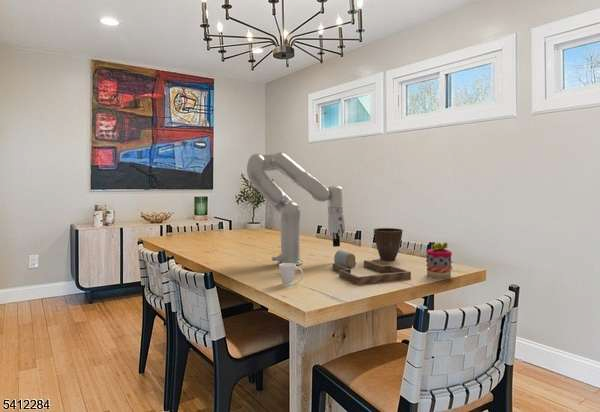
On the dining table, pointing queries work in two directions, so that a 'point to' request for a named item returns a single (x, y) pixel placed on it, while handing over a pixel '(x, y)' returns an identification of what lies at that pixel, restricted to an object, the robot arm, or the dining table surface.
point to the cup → (288, 273)
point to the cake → (439, 261)
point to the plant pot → (388, 242)
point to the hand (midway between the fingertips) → (336, 246)
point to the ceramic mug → (344, 259)
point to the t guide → (392, 276)
